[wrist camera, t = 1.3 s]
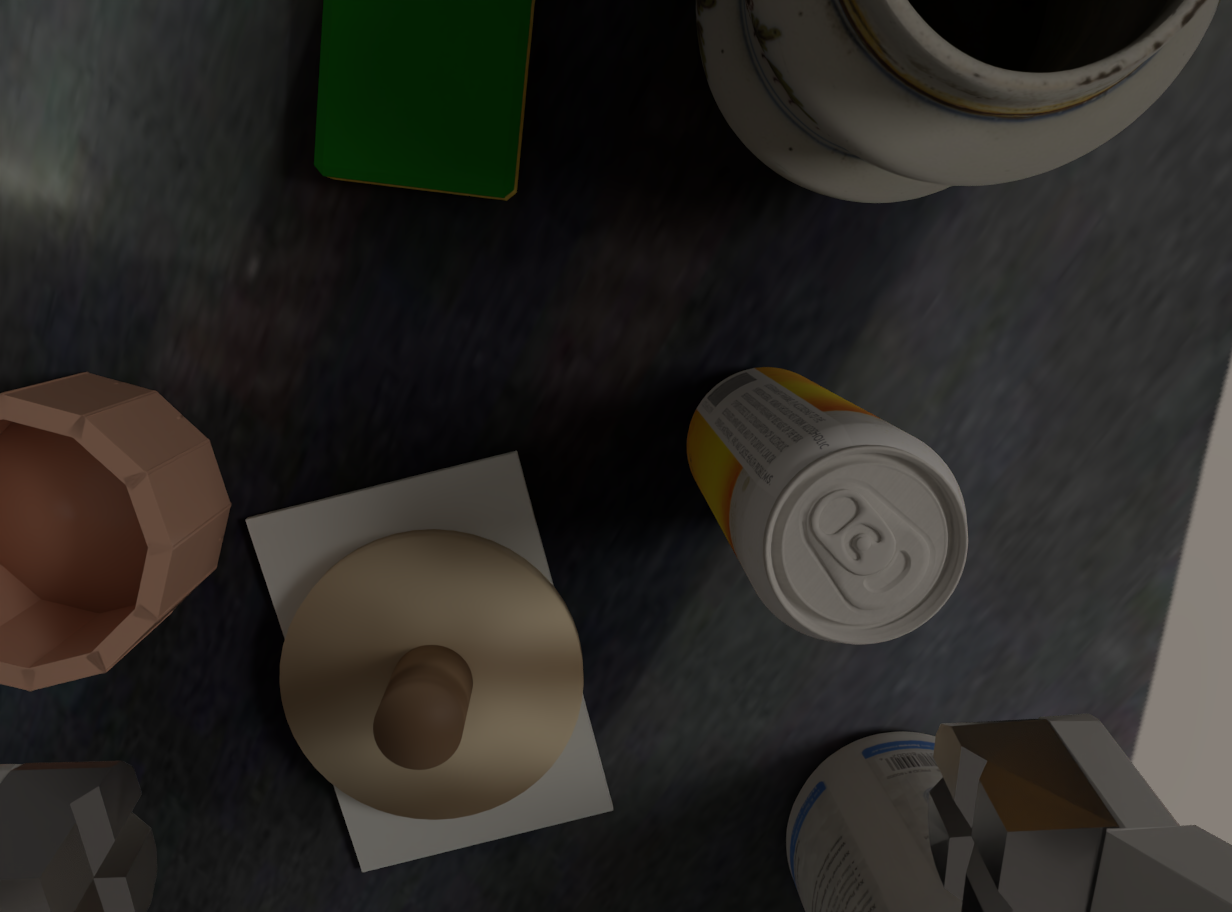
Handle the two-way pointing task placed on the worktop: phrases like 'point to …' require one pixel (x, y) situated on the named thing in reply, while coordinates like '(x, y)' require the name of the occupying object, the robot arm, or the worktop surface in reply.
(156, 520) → the bowl
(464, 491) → the mat
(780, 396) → the beer can
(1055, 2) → the apothecary jar
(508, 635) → the lid
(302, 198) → the worktop surface
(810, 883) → the supplement tub
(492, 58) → the dish sponge
